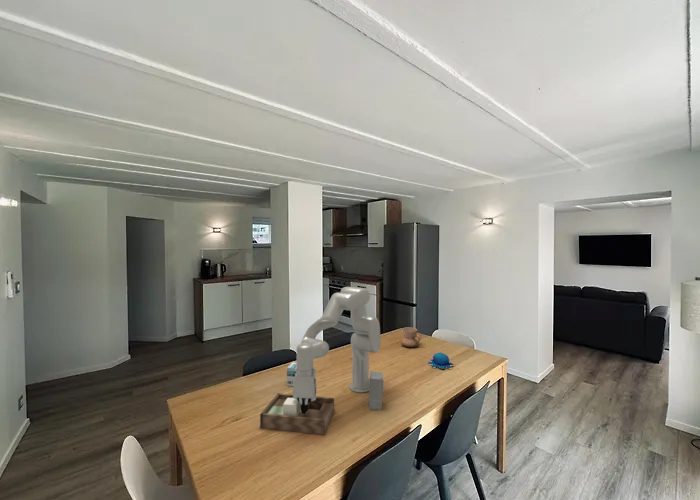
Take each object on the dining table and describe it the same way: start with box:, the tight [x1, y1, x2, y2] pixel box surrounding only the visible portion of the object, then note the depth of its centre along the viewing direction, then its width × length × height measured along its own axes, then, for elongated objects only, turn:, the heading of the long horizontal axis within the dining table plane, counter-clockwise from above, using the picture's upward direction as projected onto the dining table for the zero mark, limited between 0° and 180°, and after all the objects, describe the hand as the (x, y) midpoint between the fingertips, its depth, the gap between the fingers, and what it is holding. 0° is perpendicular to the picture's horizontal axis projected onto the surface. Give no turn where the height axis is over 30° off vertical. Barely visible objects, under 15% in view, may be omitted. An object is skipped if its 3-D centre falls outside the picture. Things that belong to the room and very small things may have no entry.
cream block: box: [283, 398, 300, 416], centre depth 132 cm, size 6×6×6 cm
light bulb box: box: [286, 360, 297, 387], centre depth 173 cm, size 11×7×11 cm, turn 169°
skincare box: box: [368, 371, 384, 411], centre depth 148 cm, size 8×7×16 cm
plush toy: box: [427, 352, 454, 370], centre depth 202 cm, size 17×17×8 cm
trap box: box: [259, 392, 335, 436], centre depth 136 cm, size 29×19×6 cm, turn 81°
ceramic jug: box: [400, 326, 421, 348], centre depth 242 cm, size 18×14×14 cm
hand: (304, 412), depth 132 cm, fingers closed
